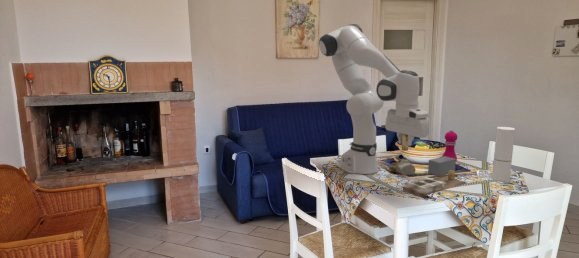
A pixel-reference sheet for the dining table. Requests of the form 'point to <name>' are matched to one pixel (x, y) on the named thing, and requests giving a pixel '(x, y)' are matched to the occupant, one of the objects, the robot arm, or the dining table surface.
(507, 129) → the cylindrical container
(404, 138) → the brass pin
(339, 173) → the dining table surface
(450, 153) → the pepper mill
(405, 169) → the ceramic sculpture
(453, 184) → the board
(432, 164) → the housing
